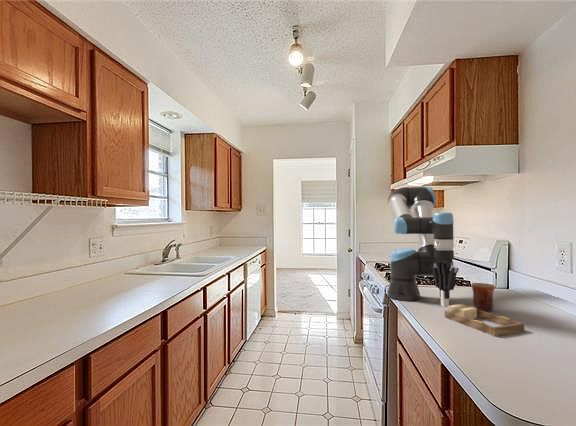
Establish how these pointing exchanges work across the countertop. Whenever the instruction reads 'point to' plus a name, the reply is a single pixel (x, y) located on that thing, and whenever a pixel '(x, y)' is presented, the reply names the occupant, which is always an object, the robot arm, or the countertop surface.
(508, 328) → the beam slot
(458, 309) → the block
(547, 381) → the countertop surface
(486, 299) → the mug
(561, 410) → the countertop surface
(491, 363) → the countertop surface
